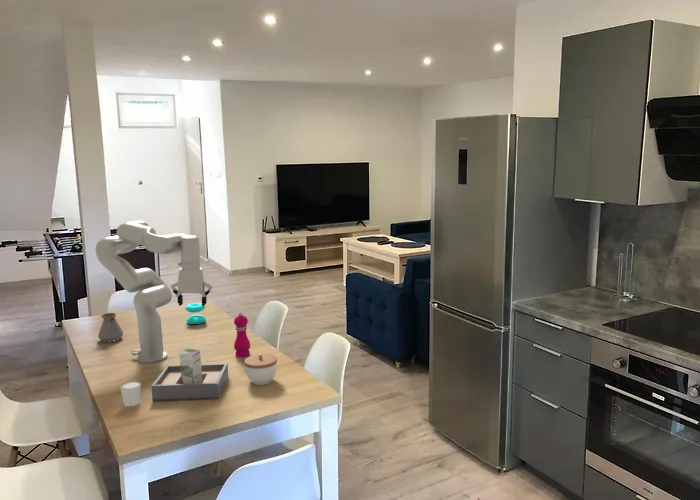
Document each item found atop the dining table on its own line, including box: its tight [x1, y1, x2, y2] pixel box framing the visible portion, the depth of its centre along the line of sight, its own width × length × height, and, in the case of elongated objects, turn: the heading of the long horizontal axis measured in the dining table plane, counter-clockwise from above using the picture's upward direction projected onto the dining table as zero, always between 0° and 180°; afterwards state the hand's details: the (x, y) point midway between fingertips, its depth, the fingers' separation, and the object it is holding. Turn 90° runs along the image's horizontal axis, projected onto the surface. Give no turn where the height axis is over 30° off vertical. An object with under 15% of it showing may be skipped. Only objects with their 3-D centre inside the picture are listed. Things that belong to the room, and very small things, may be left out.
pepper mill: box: [233, 311, 251, 359], centre depth 243 cm, size 7×7×20 cm
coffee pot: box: [97, 312, 124, 342], centre depth 264 cm, size 21×12×15 cm, turn 30°
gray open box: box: [150, 363, 229, 402], centre depth 209 cm, size 24×20×6 cm
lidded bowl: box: [244, 353, 278, 386], centre depth 215 cm, size 13×13×11 cm
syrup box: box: [179, 348, 202, 384], centre depth 209 cm, size 6×6×14 cm
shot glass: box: [120, 381, 142, 407], centre depth 198 cm, size 7×7×7 cm
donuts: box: [185, 302, 207, 325], centre depth 295 cm, size 10×10×10 cm
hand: (192, 305), depth 229 cm, fingers open, 9 cm apart
